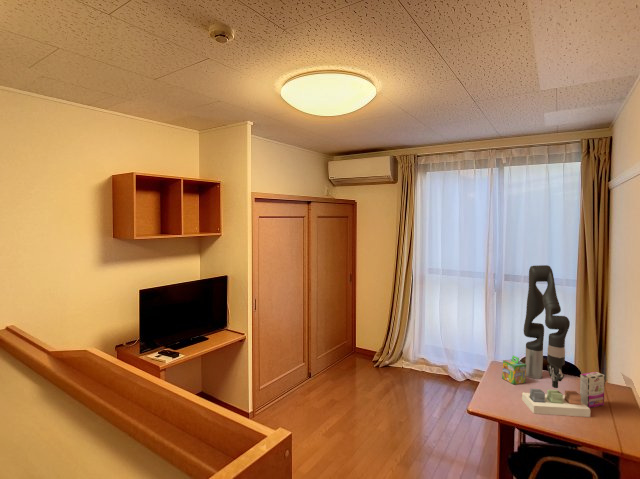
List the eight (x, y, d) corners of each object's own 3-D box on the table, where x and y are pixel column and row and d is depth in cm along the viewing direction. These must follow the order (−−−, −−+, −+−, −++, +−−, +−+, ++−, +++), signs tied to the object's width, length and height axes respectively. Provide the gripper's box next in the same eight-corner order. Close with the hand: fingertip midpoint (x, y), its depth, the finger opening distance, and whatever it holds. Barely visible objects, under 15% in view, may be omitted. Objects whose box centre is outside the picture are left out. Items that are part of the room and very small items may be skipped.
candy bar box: (594, 401, 194) (596, 371, 193) (604, 405, 189) (605, 375, 188) (578, 403, 191) (579, 373, 190) (587, 408, 186) (589, 377, 186)
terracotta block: (564, 401, 189) (564, 390, 188) (574, 402, 188) (575, 390, 188) (569, 406, 184) (570, 395, 183) (580, 407, 183) (581, 395, 183)
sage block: (547, 400, 190) (547, 389, 189) (557, 401, 189) (557, 390, 189) (551, 405, 185) (552, 394, 184) (562, 406, 184) (562, 394, 184)
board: (521, 399, 196) (522, 392, 195) (573, 402, 192) (574, 395, 192) (533, 413, 182) (534, 405, 182) (590, 417, 178) (590, 409, 178)
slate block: (529, 399, 191) (530, 388, 190) (539, 400, 190) (540, 389, 190) (534, 404, 186) (534, 393, 185) (544, 405, 185) (544, 393, 185)
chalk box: (501, 378, 222) (502, 354, 221) (513, 376, 225) (514, 353, 224) (513, 385, 213) (514, 360, 212) (526, 383, 216) (526, 358, 215)
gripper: (542, 349, 193) (541, 381, 193) (554, 358, 179) (553, 392, 180) (557, 350, 192) (556, 382, 192) (571, 359, 179) (570, 393, 179)
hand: (555, 387), depth 186 cm, fingers closed
